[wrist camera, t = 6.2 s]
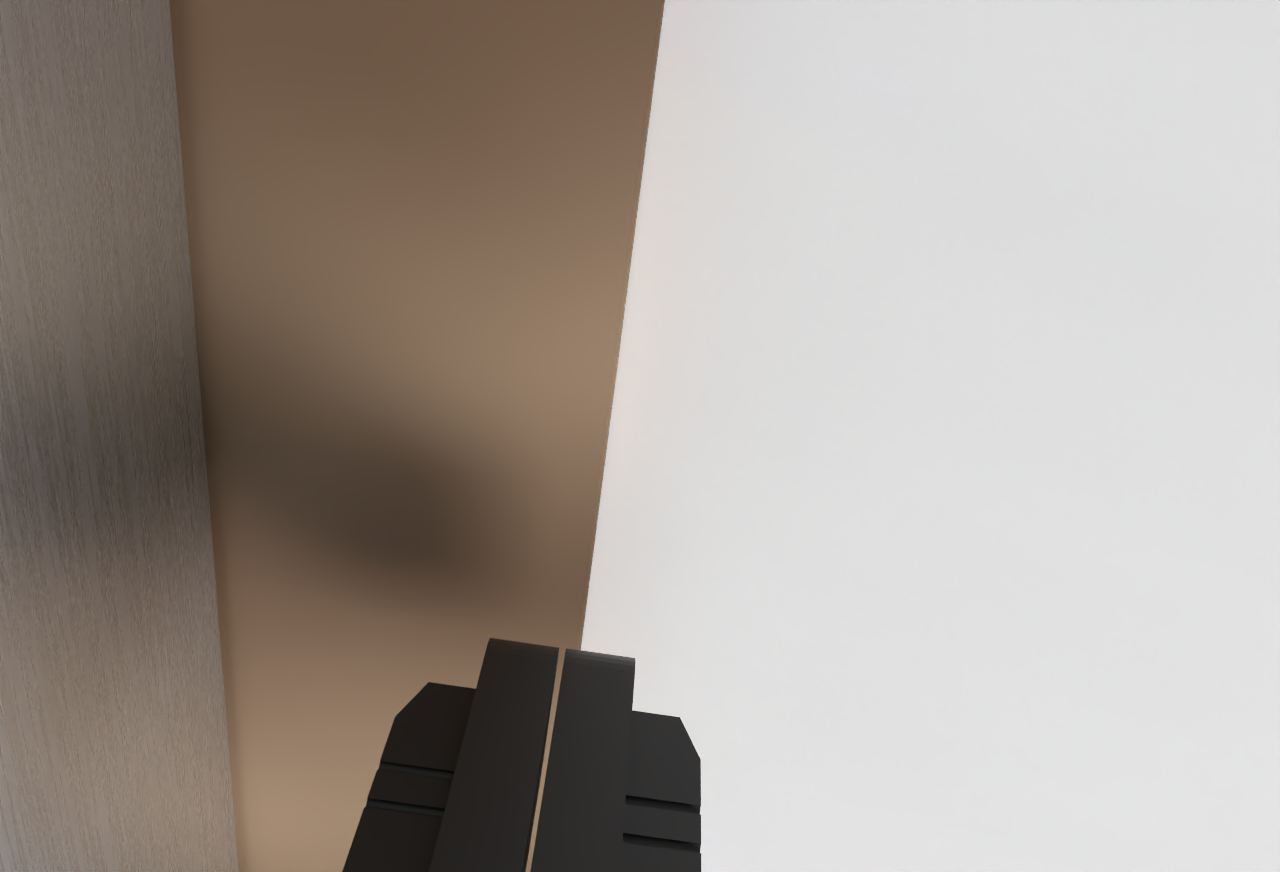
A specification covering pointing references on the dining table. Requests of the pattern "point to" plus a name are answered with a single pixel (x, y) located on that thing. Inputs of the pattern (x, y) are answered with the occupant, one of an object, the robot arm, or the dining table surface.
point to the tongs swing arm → (102, 460)
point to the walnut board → (398, 358)
